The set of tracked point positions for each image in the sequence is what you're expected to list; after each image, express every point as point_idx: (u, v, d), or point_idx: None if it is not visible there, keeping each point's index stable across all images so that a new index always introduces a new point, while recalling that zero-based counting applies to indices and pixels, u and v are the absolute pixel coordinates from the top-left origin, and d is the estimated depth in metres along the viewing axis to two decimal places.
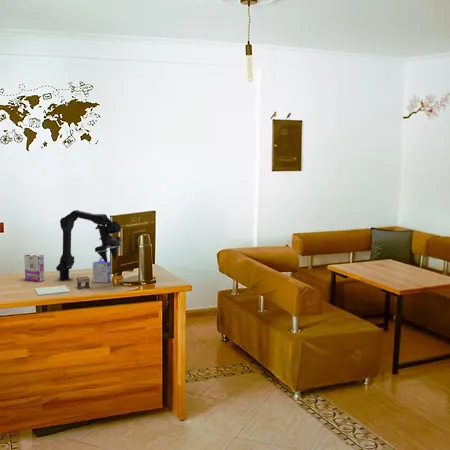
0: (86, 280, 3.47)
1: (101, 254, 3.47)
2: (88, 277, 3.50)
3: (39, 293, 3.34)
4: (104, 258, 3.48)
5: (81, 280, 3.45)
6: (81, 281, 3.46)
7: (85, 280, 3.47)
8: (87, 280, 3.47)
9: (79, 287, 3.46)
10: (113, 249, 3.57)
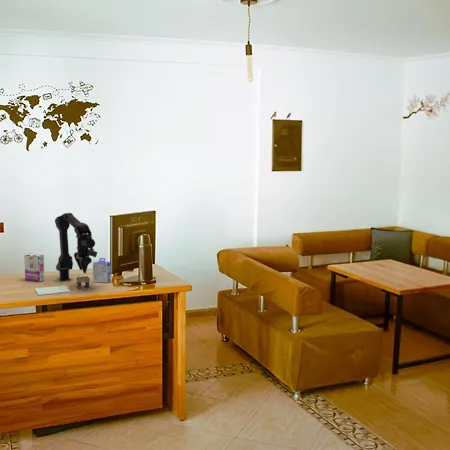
0: (86, 280, 3.47)
1: (83, 265, 3.42)
2: (88, 277, 3.50)
3: (39, 293, 3.34)
4: (84, 269, 3.43)
5: (81, 280, 3.45)
6: (81, 281, 3.46)
7: (85, 280, 3.47)
8: (87, 280, 3.47)
9: (79, 287, 3.46)
10: None
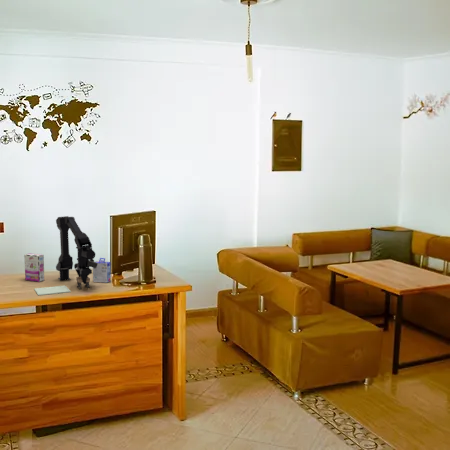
0: None
1: (83, 276, 3.44)
2: (88, 277, 3.50)
3: (39, 293, 3.34)
4: (84, 280, 3.45)
5: (81, 280, 3.45)
6: (81, 281, 3.46)
7: None
8: (87, 280, 3.47)
9: (79, 287, 3.46)
10: None
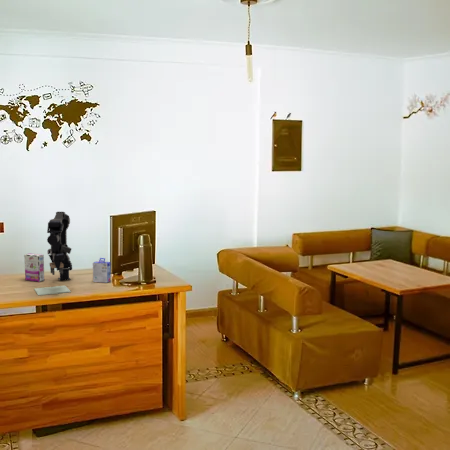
0: None
1: (56, 261, 3.35)
2: (62, 263, 3.41)
3: (39, 293, 3.34)
4: (57, 265, 3.37)
5: (54, 265, 3.37)
6: (54, 266, 3.37)
7: None
8: (60, 265, 3.39)
9: (52, 273, 3.37)
10: None
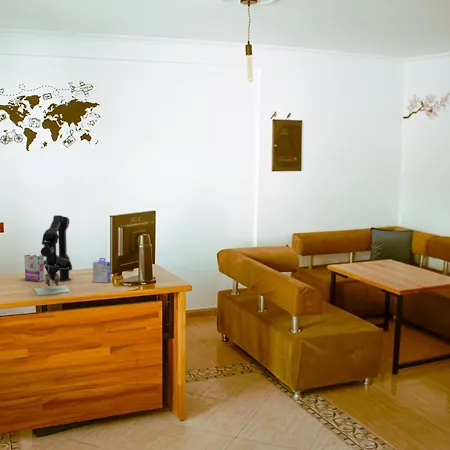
0: (55, 277, 3.38)
1: (51, 273, 3.35)
2: (57, 274, 3.41)
3: (39, 293, 3.34)
4: (52, 277, 3.37)
5: (49, 277, 3.37)
6: (49, 278, 3.37)
7: None
8: (56, 277, 3.39)
9: (47, 284, 3.38)
10: None
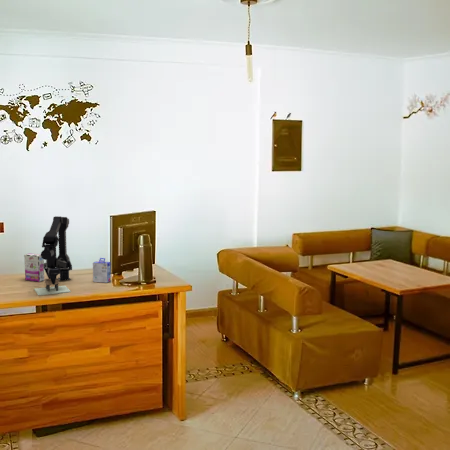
0: (55, 282, 3.39)
1: (51, 276, 3.34)
2: (57, 279, 3.42)
3: (39, 293, 3.34)
4: (53, 280, 3.36)
5: (49, 282, 3.37)
6: (49, 283, 3.37)
7: None
8: (56, 282, 3.39)
9: (47, 289, 3.38)
10: None
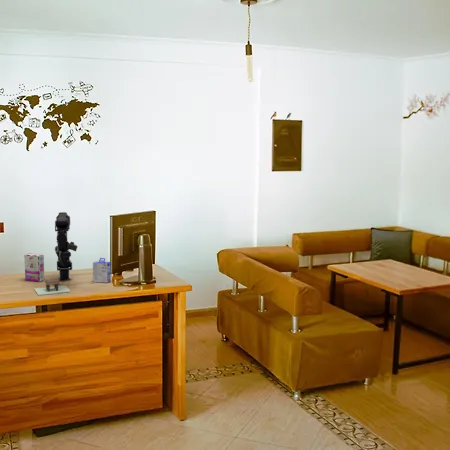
0: (55, 282, 3.39)
1: (62, 259, 3.44)
2: (57, 279, 3.42)
3: (39, 293, 3.34)
4: (64, 263, 3.46)
5: (49, 282, 3.37)
6: (49, 283, 3.37)
7: (54, 282, 3.38)
8: (56, 282, 3.39)
9: (47, 289, 3.38)
10: None
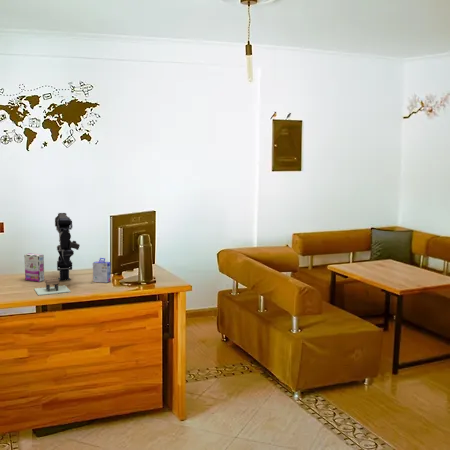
0: (55, 282, 3.39)
1: (65, 257, 3.46)
2: (57, 279, 3.42)
3: (39, 293, 3.34)
4: (67, 261, 3.48)
5: (49, 282, 3.37)
6: (49, 283, 3.37)
7: (54, 282, 3.38)
8: (56, 282, 3.39)
9: (47, 289, 3.38)
10: None
